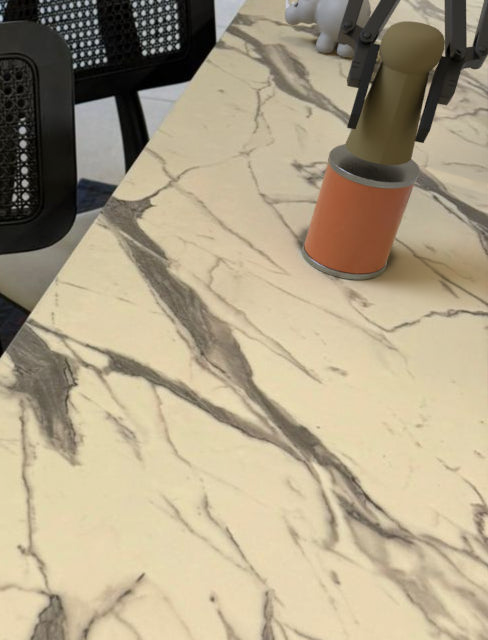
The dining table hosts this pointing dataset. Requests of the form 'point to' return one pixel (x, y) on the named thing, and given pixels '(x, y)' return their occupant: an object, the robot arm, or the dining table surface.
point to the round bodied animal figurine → (325, 21)
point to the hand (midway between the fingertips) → (387, 128)
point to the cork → (396, 94)
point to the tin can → (357, 215)
